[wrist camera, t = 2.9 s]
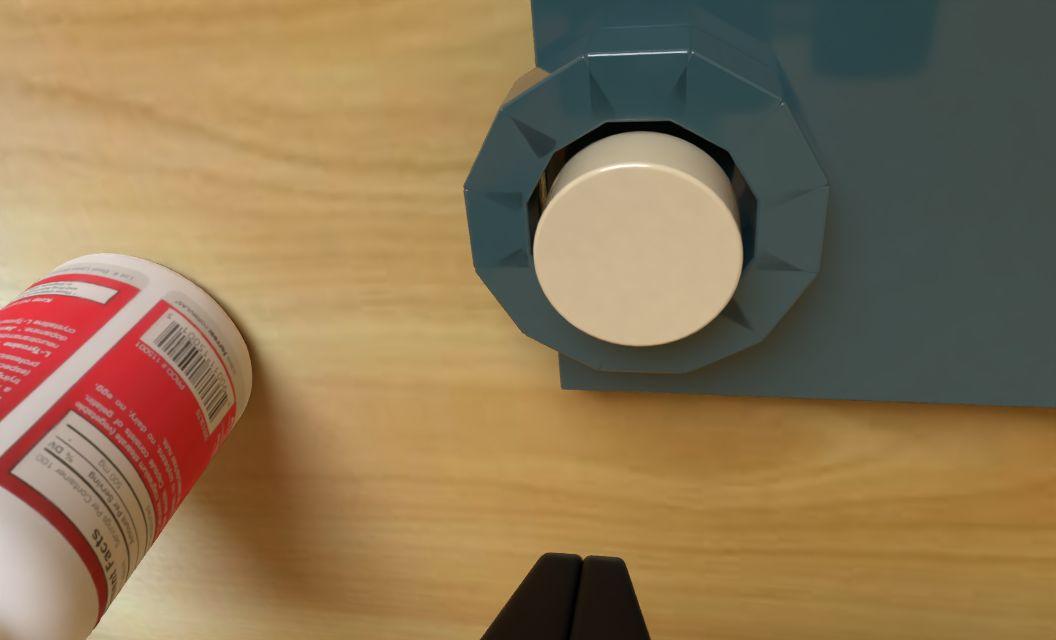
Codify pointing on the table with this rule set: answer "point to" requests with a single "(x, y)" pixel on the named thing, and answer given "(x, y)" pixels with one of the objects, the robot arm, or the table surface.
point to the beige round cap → (639, 239)
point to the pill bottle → (103, 430)
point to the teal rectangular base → (809, 190)
